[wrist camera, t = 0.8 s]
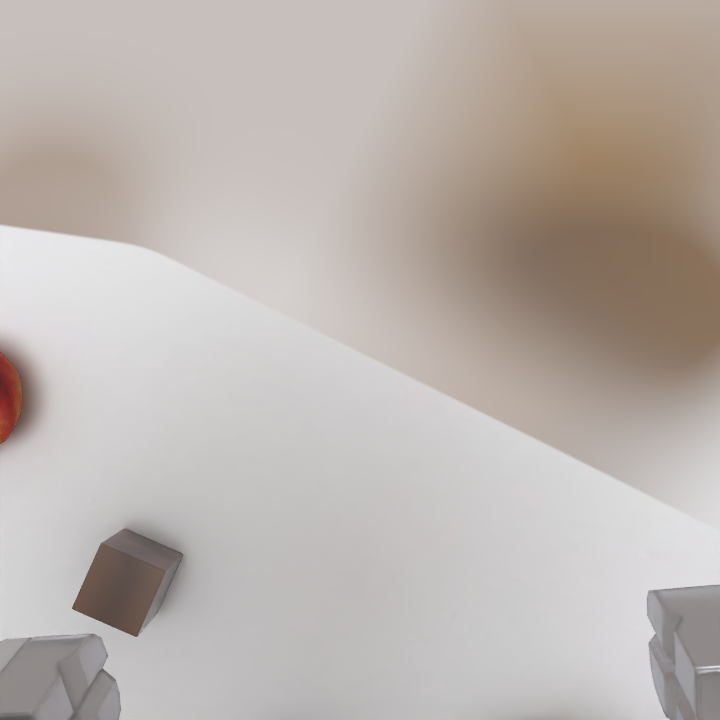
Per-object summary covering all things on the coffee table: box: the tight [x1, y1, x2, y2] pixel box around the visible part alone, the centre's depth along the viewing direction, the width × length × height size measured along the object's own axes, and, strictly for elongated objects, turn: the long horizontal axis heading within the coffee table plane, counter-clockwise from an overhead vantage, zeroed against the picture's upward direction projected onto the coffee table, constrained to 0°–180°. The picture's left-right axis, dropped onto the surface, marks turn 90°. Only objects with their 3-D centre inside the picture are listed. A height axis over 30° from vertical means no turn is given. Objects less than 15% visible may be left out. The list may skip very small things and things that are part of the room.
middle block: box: [72, 529, 183, 637], centre depth 50 cm, size 5×5×5 cm
